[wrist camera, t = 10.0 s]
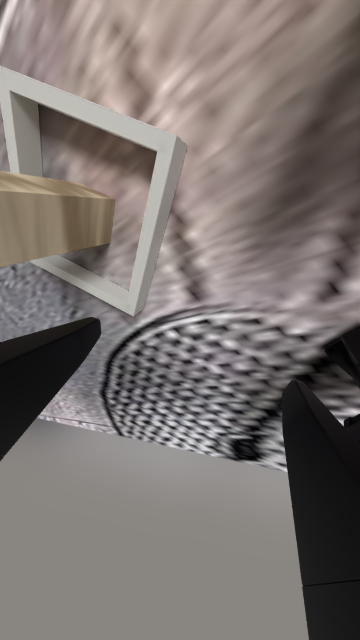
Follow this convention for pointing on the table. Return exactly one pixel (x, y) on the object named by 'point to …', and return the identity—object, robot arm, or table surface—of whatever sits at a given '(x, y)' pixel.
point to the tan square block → (50, 217)
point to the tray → (25, 144)
